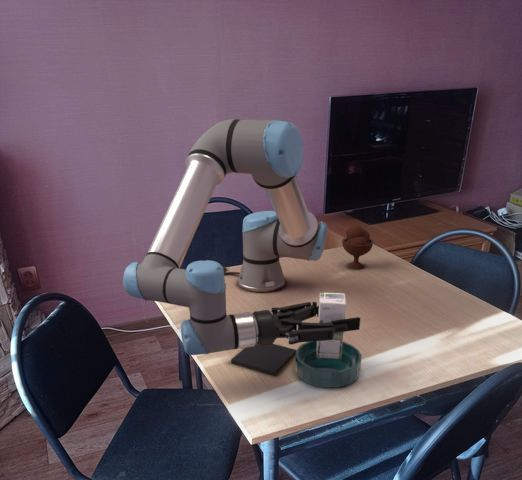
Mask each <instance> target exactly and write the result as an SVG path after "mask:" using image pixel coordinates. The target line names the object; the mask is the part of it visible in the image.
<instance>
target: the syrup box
mask: <svg viewBox="0 0 522 480" xmlns="http://www.w3.org/2000/svg"><path fill="white" fill-rule="evenodd" d="M318 299H319V300H318V306H319V314H318V317H317V323H331V321H335V320H342V319H346V311H347V301H346V294H345V293H343V292H319V298H318ZM344 333H345V332H339V333H334V337H333V340H325V341H317V358H319V359H341V355H342V345H343V342H344Z"/></svg>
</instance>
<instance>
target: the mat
mask: <svg viewBox="0 0 522 480" xmlns="http://www.w3.org/2000/svg"><path fill="white" fill-rule="evenodd" d="M296 351H297V349H295V348H291V347H286V346H284V345H279V344H276V343H273V344H269V345H262V346H258V345H256V344H255V346H254V347H247V348H243V349H241V351H239V352H238V353H237V354H236V355H235V356H234V357H232V358H231V359H230V364H233V365H236V366H238V367H239V366H240V367H243V368H246V369H249V370H252V371H253V370H254V371H256V372H260V373H263V374H266V375H270V376H274V377H275V376H276V375H277V374H279V372H280V371H281V370H282V369H283V368H284V367H285V366H286V365H287V364H288V363H289V362H290V361H291V360H292V358H294V357H295V356H296Z"/></svg>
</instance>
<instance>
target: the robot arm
mask: <svg viewBox="0 0 522 480" xmlns="http://www.w3.org/2000/svg"><path fill="white" fill-rule="evenodd" d="M303 146H304V142H303V137H302V133H301V132H300V129H299V128H298V127H297V125H296V124H294V123H293V122H290V121H283V120H280V119H272V120H271V119H270V120H269V119H239V118H229V119H225V120H222V121H220V122H218V123H216V124H214V125H213V126H211V127H209V129H207V131H205V132H204V133H203V134H202V135H201V136H200V137H199V138H197V141H196V142H195V143H194V144H193V146H192V147H191V149H190V151H189V152H188V155H187V157H186V159H185V160H184V161H185V162H184V166H185V172H184V174H183V175H182V178H181V180H180V183H179V184H178V187H177V188H176V191H175V193H174V195H173V197H172V199H171V201H170V204H169V205H168V208H167V210H166V212H165V214H164V217H162V218H163V219H162V220H161V222H160V225H159V227H158V229H157V231H156V233H155V235H154V237H153V239H152V242H151V245H150V246H149V249H148V251H147V252H146V254H145V256H144V258H143V260H142V261H134V262H133V261H132V262H130V264H129V265H127V266H126V268H125V270H124V272H123V276H122V285H123V288H124V290H125V292H126V293H127V295H129V296H130V297H132V298H137V299H139V300H144V301H151V302H157V303H164V304H169V305H174V306H178V307H179V306H180V307H184V308H188V310H189V311H188V312H189V319H186V320H183V321H181V323H180V335H181V340H182V346H183V349H184V353H186V354H187V355H188V356H199V355H210V354H213V353H219V352H225V351H231V350H239V349H241V350H243V349H244V348H247V347H254V346H255V344H256V345H258V346H262V345H269V344H275V341H276V340H277V339H287V341H288V344H289V345H291V346H292V345H297V344H299V343H300V344H301V343H306V342H312V341H325V340H333V337H334V333H339V332H344V333H345V332H353V331H359V330H360V326H361V317H359V316H358V317H350V318H345V319H342V320H335V321H331V323H318V322H308V321H307V322H304V321H306V320H310V319H312V318H315V317H317V318H318V314H319V305H318V303H317V301H312V302H310V301H307V302H302V303H296V304H291V305H286V306H279V307H278V306H277V307H271V309H270V310H271V311H270V310H269V309H263V310H256V311H253V312H252V313H251V312H250V311H248V312H247V311H246V312H241V313H232V314H227V294H226V289H227V284H226V279H225V275H238V280H237V281H238V286H239V287H240V288H241V289H243V290H246V291H249V292H254V293H268V292H275V291H278V290H280V289H282V288H283V287H284V286H285V283H286V282H285V279H286V278H285V275H284V271H283V269H282V265H281V262H280V257H282V258H290V259H297V260H304V261H308V262H310V261H313V262H317V261H319V260H321V258H322V256H323V253H324V249H325V246H326V241H327V235H328V225H327V223H326V222H323V221H318V219H317V218H316V216H315V215H314V214H313V213H312V212H311V211H309V209H308V206H307V203H306V200H305V197H304V194H303V191H302V188H301V185H300V182H299V179H298V176H297V175H298V174H299V172H300V171H301V169H302V166H303V162H304V155H305V154H304V152H305V151H304V147H303ZM230 173H232V174H233V173H235V174H245V175H246V174H247V175H251V176H252V179H253V180H254V182H255V184H256V185H257V186H258V187H260V188H262V189H264V190H265V193H266V195H267V197H268V199H269V201H270V204H271V206H272V209H273V210H263V211H257V212H253V213H250V214H248V215H246V216H245V217H244V218H243V220H242V230H241V232H242V254H243V262H242V265H241V268H240V271H226V270H227V267H226V266H225V265H223V264H221V263H219V262H217V261H215V260H208V259H207V260H196V261H192V262H190V263H189V264H188V265H187V266H186V268H185V269H184V268H181V266H182V264H183V261H184V259H185V257H186V254H187V252H188V250H189V248H190V245H191V243H192V241H193V239H194V236H195V235H196V232H197V229H198V227H199V226H200V223H201V220H202V219H203V216H204V214H205V211H206V209H207V207H208V205H209V202H210V200H211V198H212V195H213V193H214V191H215V189H216V187H217V186H218V185H220V184H223V182H224V180H225V178H226V175H229V174H230Z"/></svg>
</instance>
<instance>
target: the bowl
mask: <svg viewBox="0 0 522 480" xmlns="http://www.w3.org/2000/svg"><path fill="white" fill-rule="evenodd" d="M296 350H297V351H296V354H295V356H294V358H295V360H294V370H295V373H296V376H298V377H299V378H300V379H301V380H302V381H304V382H307V383H308V384H310V385H313V386H317V387H322V388H341V387H345V386H348V385H351V384H353V383H354V382H356V381H357V380H358V379H359V377H360V376H361V369H362V353H361V351H360V350H359V349H358V348H357V347H355V346H354V345H352V344H351V343H348V342H346V341H343V345H342V355H341V359H319V358H317V341H312V342H303V343H302V344H300V345H299V346H298V347H297V349H296Z"/></svg>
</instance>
